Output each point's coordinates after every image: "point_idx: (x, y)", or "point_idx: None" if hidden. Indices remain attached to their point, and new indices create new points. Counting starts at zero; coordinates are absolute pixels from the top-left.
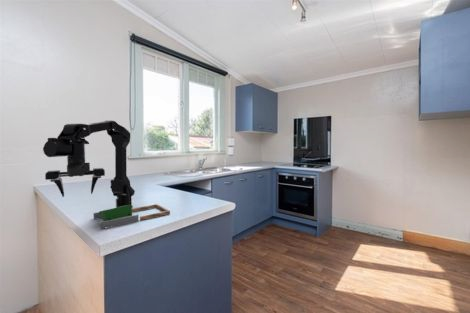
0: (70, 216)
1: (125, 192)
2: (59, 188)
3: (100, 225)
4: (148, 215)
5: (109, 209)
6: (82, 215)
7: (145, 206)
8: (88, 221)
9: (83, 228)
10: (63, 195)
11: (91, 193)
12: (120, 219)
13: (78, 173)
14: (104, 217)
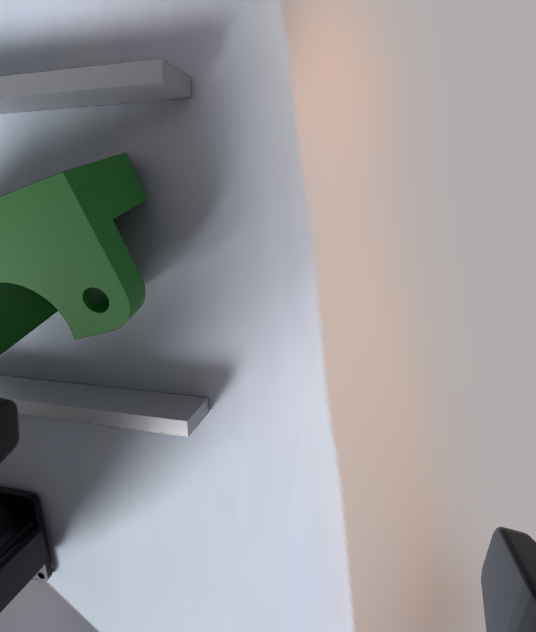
0: (346, 611)
1: None
2: None
3: (174, 68)
4: None
5: (18, 189)
6: (269, 566)
7: None
8: (248, 373)
9: (303, 201)
10: (515, 544)
11: (5, 398)
12: (13, 79)
13: None
14: (114, 180)
